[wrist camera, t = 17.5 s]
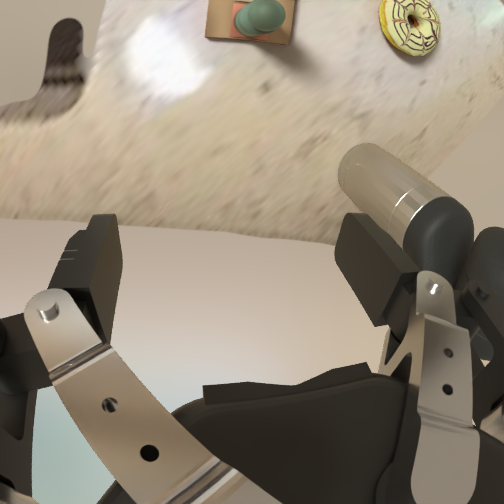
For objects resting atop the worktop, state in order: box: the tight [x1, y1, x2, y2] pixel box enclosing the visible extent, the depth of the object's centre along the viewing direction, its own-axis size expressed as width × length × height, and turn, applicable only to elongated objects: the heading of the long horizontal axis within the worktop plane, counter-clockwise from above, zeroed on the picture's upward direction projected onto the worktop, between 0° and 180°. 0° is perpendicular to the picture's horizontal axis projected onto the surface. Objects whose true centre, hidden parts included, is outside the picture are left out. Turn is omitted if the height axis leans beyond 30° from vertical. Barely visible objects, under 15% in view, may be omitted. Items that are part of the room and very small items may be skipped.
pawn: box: [234, 0, 286, 37], centre depth 25 cm, size 4×4×9 cm
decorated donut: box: [379, 0, 441, 56], centre depth 29 cm, size 10×11×4 cm
